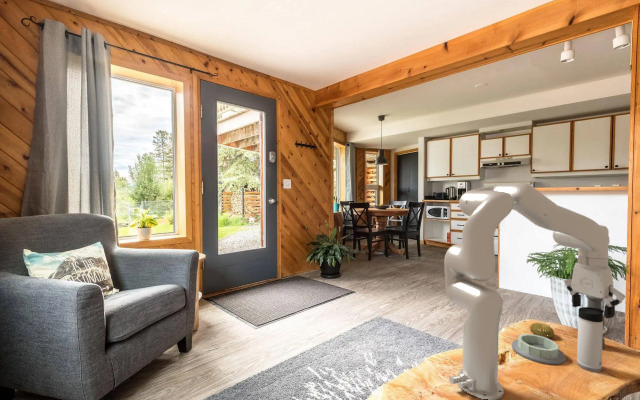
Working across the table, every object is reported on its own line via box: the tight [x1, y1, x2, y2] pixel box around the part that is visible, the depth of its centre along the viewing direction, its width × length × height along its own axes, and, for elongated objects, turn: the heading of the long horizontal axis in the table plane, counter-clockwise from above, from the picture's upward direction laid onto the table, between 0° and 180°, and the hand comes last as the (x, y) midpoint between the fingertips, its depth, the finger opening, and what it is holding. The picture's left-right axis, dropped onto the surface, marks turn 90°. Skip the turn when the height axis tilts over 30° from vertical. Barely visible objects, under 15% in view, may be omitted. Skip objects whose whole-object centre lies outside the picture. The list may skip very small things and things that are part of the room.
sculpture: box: [529, 322, 555, 339], centre depth 126 cm, size 8×4×8 cm
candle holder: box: [585, 295, 606, 350], centre depth 117 cm, size 6×6×25 cm
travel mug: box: [576, 306, 605, 373], centre depth 103 cm, size 6×7×20 cm
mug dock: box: [511, 333, 566, 366], centre depth 112 cm, size 16×16×4 cm
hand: (592, 311), depth 103 cm, fingers open, 9 cm apart
